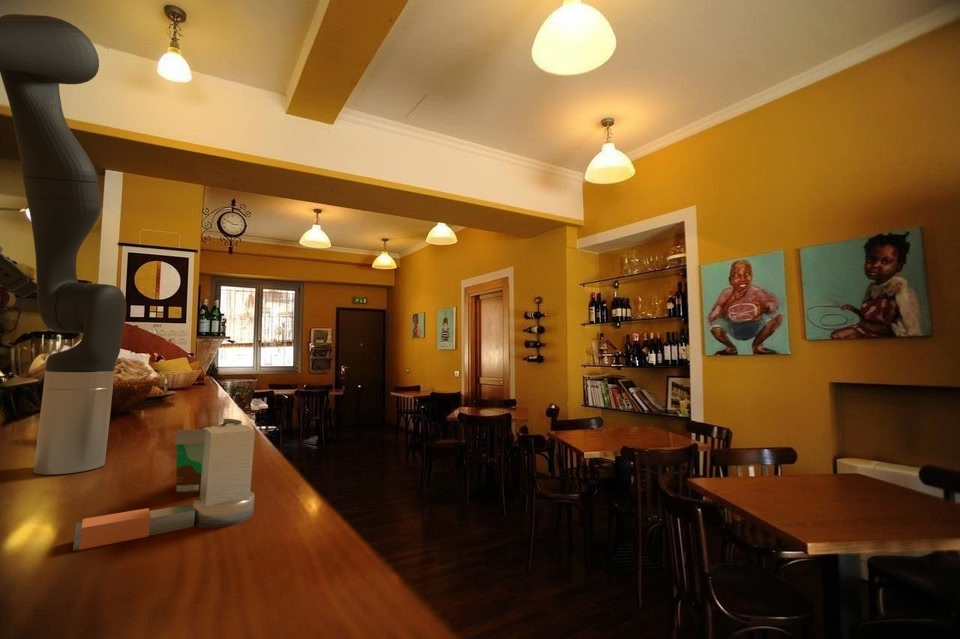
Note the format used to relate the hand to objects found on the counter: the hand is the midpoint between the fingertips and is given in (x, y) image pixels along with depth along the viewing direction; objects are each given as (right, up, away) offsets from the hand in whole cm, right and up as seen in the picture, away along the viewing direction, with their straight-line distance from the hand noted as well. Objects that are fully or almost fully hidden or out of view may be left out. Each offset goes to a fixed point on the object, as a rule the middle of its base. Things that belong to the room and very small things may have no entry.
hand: (26, 289), depth 53 cm
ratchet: (+18, -30, 0) cm, 34 cm away
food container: (+14, -31, +16) cm, 37 cm away
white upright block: (+22, -27, +4) cm, 35 cm away
